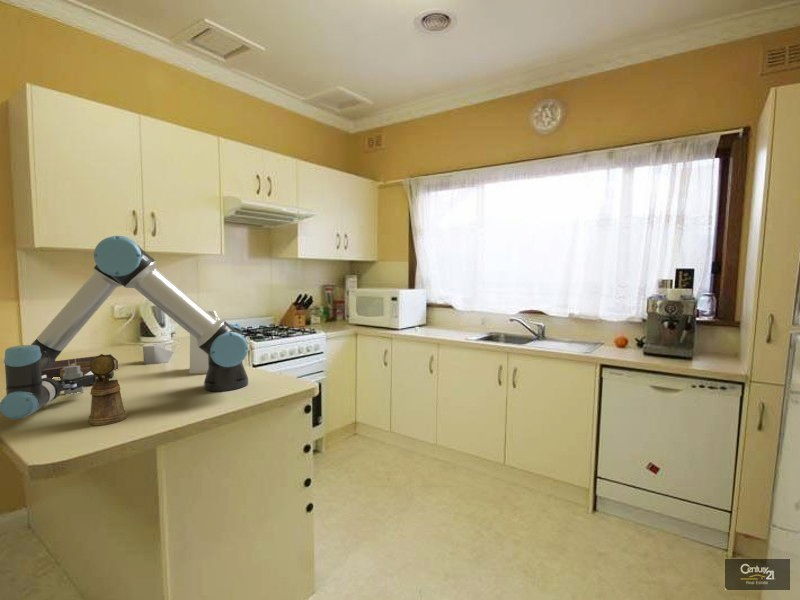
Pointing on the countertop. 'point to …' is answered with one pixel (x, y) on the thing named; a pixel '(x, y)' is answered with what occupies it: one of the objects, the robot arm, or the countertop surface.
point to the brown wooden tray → (58, 365)
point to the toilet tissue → (156, 353)
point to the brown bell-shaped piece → (105, 394)
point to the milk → (199, 353)
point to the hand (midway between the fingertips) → (69, 376)
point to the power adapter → (73, 373)
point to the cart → (85, 369)
